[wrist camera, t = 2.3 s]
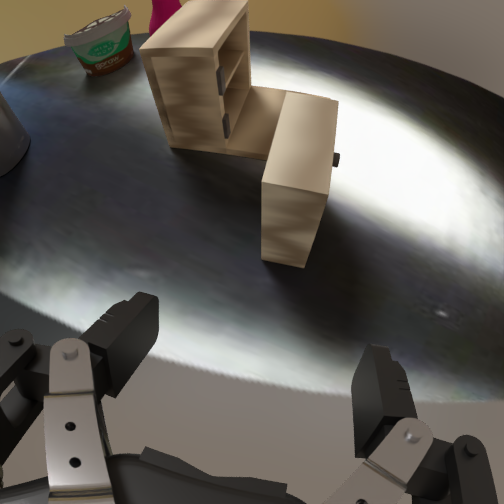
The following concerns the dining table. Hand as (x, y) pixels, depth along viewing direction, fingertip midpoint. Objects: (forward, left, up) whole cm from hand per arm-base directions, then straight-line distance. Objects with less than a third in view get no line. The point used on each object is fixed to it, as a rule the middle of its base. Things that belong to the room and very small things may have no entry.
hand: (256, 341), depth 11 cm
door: (0, +14, -16) cm, 21 cm away
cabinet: (-7, +27, -16) cm, 32 cm away
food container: (-34, +39, -16) cm, 54 cm away
